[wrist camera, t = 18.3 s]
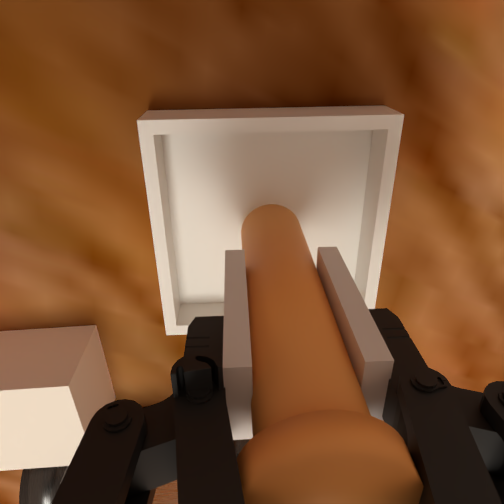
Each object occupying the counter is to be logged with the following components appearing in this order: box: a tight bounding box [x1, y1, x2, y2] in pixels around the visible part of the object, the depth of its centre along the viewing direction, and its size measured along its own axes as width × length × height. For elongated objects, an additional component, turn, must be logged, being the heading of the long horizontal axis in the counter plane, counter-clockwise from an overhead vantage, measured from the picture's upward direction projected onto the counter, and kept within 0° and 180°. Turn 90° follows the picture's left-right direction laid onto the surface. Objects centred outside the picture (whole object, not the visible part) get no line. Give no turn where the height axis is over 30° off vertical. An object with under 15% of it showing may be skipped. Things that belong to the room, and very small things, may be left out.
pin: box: [237, 204, 424, 504], centre depth 15 cm, size 4×4×14 cm
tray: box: [137, 105, 404, 335], centre depth 21 cm, size 11×11×2 cm
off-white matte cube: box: [0, 325, 116, 471], centre depth 24 cm, size 6×6×5 cm
